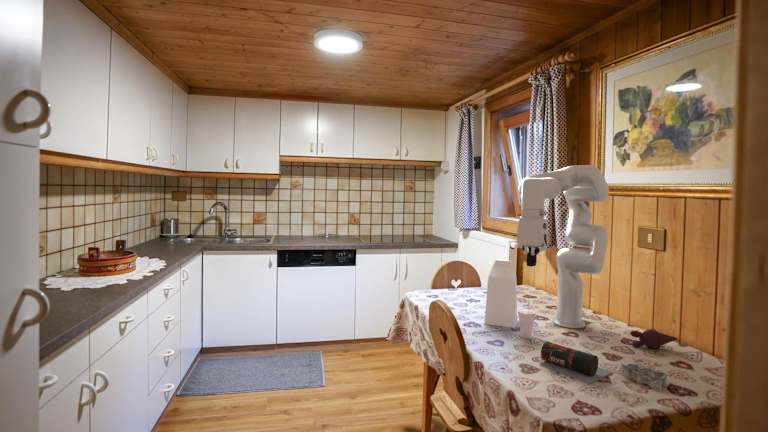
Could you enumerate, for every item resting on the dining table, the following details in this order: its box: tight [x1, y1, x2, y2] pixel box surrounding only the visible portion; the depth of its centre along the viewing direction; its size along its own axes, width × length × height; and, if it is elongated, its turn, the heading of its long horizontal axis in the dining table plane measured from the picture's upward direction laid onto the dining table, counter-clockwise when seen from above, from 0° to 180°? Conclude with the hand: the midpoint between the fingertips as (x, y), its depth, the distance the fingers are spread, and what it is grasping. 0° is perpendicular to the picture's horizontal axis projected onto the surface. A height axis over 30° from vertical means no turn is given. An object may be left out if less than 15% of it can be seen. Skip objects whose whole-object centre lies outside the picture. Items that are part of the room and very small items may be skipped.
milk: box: [483, 259, 518, 328], centre depth 171 cm, size 12×12×26 cm
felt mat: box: [539, 360, 614, 385], centre depth 126 cm, size 13×16×1 cm
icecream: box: [629, 328, 678, 350], centre depth 145 cm, size 7×7×15 cm
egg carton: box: [620, 362, 669, 389], centre depth 120 cm, size 11×8×4 cm
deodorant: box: [540, 341, 599, 376], centre depth 126 cm, size 6×6×15 cm
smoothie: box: [517, 299, 537, 339], centre depth 154 cm, size 6×6×14 cm
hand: (531, 265), depth 144 cm, fingers closed
